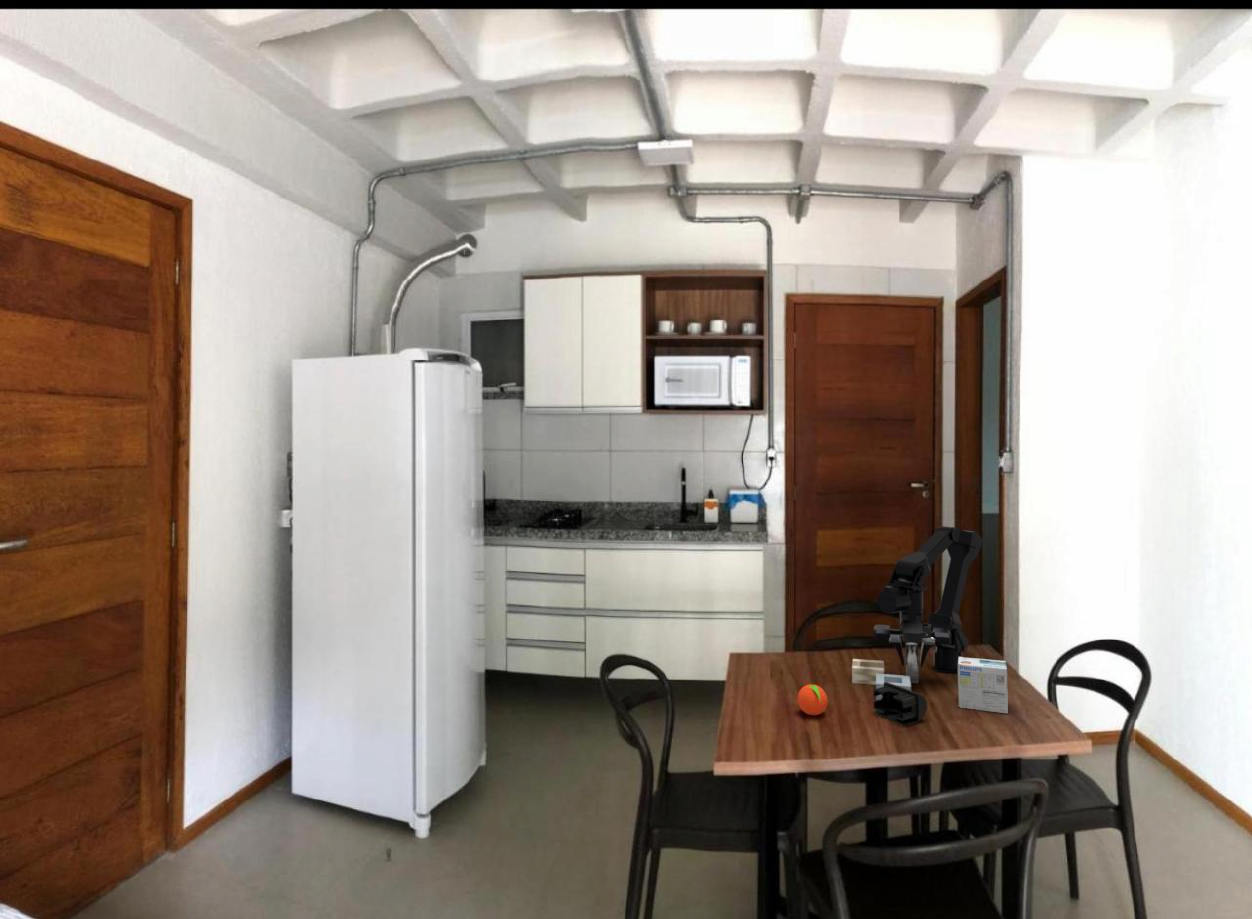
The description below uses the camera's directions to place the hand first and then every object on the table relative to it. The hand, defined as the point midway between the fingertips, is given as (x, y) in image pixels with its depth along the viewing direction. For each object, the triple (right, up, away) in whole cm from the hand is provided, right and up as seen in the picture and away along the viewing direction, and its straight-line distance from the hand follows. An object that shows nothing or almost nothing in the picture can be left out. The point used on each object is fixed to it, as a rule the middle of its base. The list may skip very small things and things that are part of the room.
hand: (912, 666), depth 191 cm
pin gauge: (0, -4, 0) cm, 4 cm away
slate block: (-9, -5, -10) cm, 14 cm away
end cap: (-12, -5, -23) cm, 27 cm away
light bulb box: (+10, -5, -18) cm, 21 cm away
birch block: (-11, -4, +3) cm, 12 cm away
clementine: (-31, -6, -21) cm, 38 cm away
